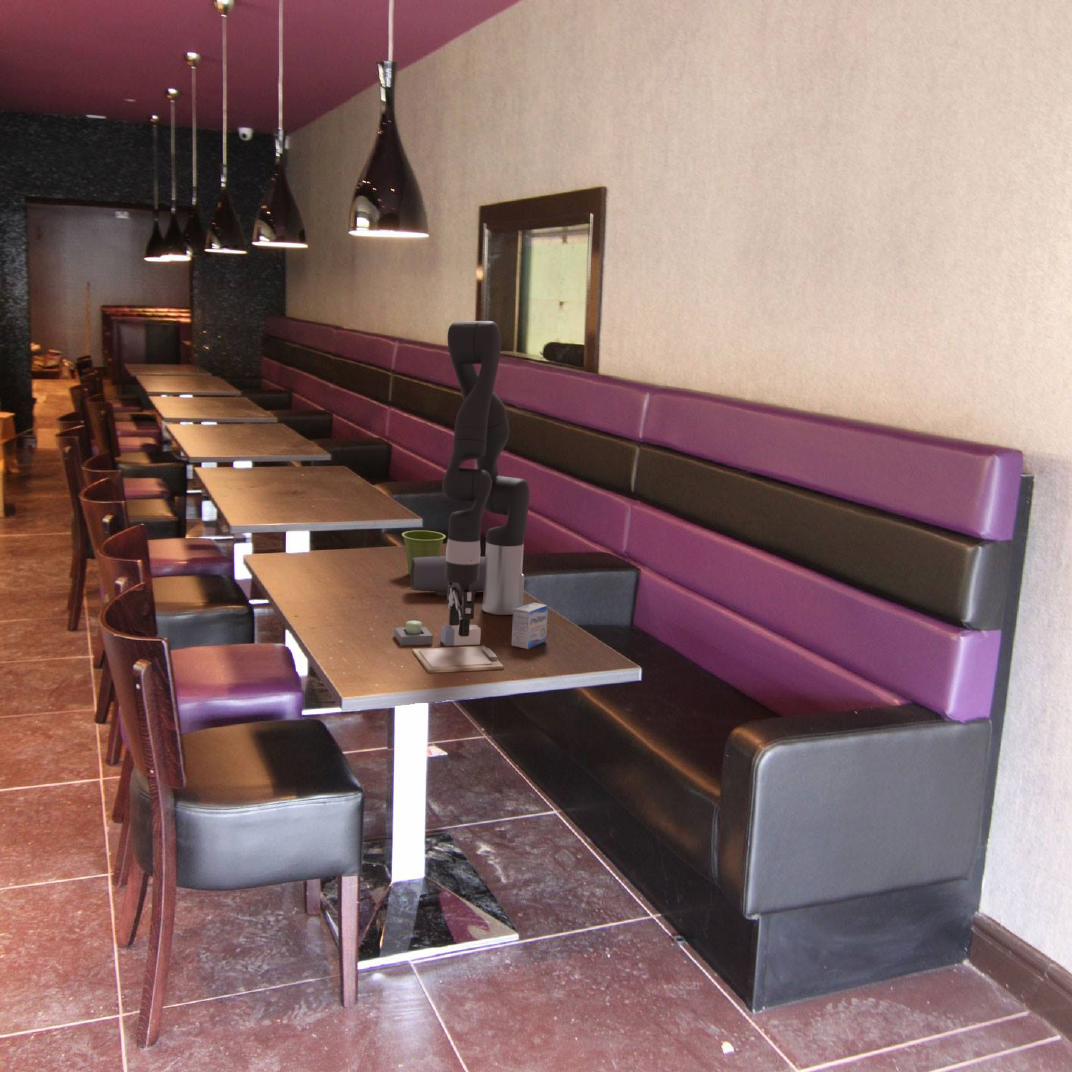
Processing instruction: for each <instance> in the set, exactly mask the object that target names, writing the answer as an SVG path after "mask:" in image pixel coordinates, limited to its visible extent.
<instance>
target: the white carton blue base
mask: <svg viewBox="0 0 1072 1072" xmlns="http://www.w3.org/2000/svg"><path fill="white" fill-rule="evenodd" d="M481 631H482V630H481V628H480V627H479V625H477V624H470V627H469V636H463V637H461V636H459V625H455V626H450V625H441V635H440V642H441V643H442V644H443V645H444V646H447V647H449V646H452V647H453V646H473V645H480V644H481Z"/></svg>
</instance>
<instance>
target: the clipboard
mask: <svg viewBox="0 0 1072 1072" xmlns="http://www.w3.org/2000/svg"><path fill="white" fill-rule="evenodd" d="M412 653H413V654H414V655H415V657H416V658H417V659H418V661H419V662H420V663H421V665H422V666H423V668H424V669H425V670H426V672H427V673H428V674H431V673H432V674H435V673H451V672H454V673H455V672H469V671H470V672H474V671H490V670H491V671H492V670H493V671H494V670H504V668H505V667H504V664H502V663H501V662H500V661H499V659H498V656H497V655H496V654H495V653H494V651H492V650H491V648H489V647H486V645H476V646H473V645H470V646H452V647H449V646H447V647H431V648H429V647H428V648H427V647H426V648H412Z"/></svg>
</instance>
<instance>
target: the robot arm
mask: <svg viewBox="0 0 1072 1072" xmlns="http://www.w3.org/2000/svg"><path fill="white" fill-rule="evenodd" d="M446 339H447V348H448V352H449V356H450V360H451V364H452V366H453V370H454V372H455V375H456V379H457V383H458V384H459V385H458V386H459V388H460V392H461V396H462V401H463V403H462V404H461V406H460V408H459V410H458V411H457V414H456V418H455V421H454V423H455V424H454V433H453V446H452V452H451V453H452V454H451V456H450V457H451V458H450V461H449V463H448V466H447V469H446V471H445V474H444V477H443V480H442V483H441V488H442V493H443V495H444V496H445V498H447V499H448V500H451V501H462V502H463V501H464V502H474V503H473V505H472V506H471V507H469V508H467V509H462V510H457V511H453V512H451V513H450V515H449V518H448V531H447V532H448V533H447V541H446V547H445V548H446V549H445V556H446V561H445V579H446V580H447V581H448V591H447V595H446V604H447V606H448V609H449V612H448V613H449V614H448V626H455V625H459V636H461V637H463V636H469V627H470V625H471V620H474V618H475V599H476V598H475V597H476V594H475V592H472V590H470V584H471V583H475V582H477V581H478V580H479V568H480V557H481V552H482V551H481V549H482V548H481V531H482V521H483V516H484V511H486V512H488V513H490V514H497V515H502V516H507V518H506V523H504V524H502V525H500V526H495V527H491V528H489V529H487V531H486V534H485V553H484V554H485V555H484V557H485V569H484V588H483V591H482V592H483V593H482V611H483V612H485V613H488V614H491V615H497V616H510V615H512V616H513V610H514V609H516V608H518V607H521V606H524V591H525V590H524V589H525V574H523V563H524V562H523V561H524V544H525V535H526V531H527V524H528V523H527V522H528V513H529V504H530V487H529V483H528V482H527V480H526V479H524V478H519V477H513V476H512V477H510V476H504V475H503V476H502V475H500V473H499V471H498V460H499V457H500V455H501V454H502V451H503V450H504V448H505V447H506V445H507V443H508V441H509V438H510V433H511V432H510V431H511V430H510V424H509V418H508V414H507V410H506V406H505V404H504V403H503V401H502V400H501V399H500V396H498V394H496V392H494V388H495V383H496V378H497V373H498V368H499V362H500V357H501V351H502V335H501V330H500V328H499V326H498V324H497V323H496V322H495V321H493V320H492V321H491V320H476V321H475V320H472V321H471V320H469V321H467V320H466V321H454V322H453V323H451V325H450V326H449V327H448V331H447V338H446ZM475 365H480V371H479V373H478V371H477V370H476V369H477V368H476V367H475ZM470 460H475V461H476V466H477V468H462V467H461V466H462V464H464V463H465V462H467V461H470Z"/></svg>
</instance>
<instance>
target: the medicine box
mask: <svg viewBox="0 0 1072 1072" xmlns="http://www.w3.org/2000/svg"><path fill="white" fill-rule="evenodd" d="M548 609H549V606H548V605H547V604H542V603H538V602H530V603H528V604H523V606H521V607H518V608H516V609H514V610H513V614H512V628H511V629H512V630H511V631H512V632H511V646H513V647H517V648H521V649H524V650H531V649H532V648H535V647H537V646H539V645H542V644H543V643H545V642H547V629H548V628H547V627H548V614H549V613H548V612H549V611H548Z"/></svg>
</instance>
